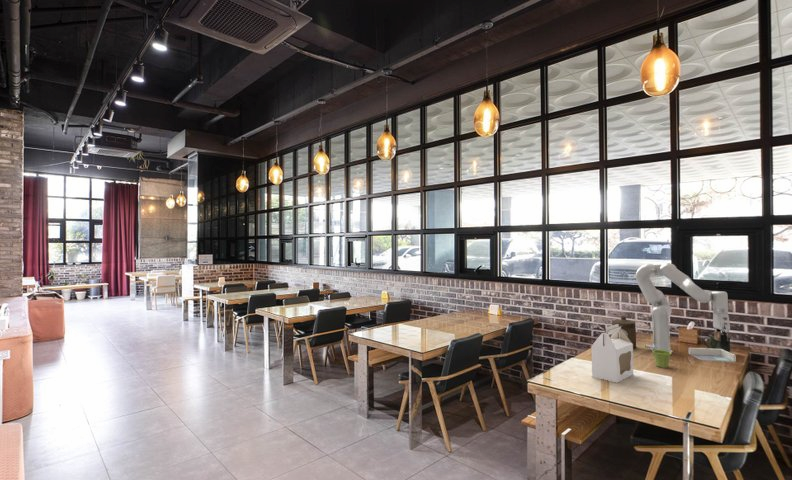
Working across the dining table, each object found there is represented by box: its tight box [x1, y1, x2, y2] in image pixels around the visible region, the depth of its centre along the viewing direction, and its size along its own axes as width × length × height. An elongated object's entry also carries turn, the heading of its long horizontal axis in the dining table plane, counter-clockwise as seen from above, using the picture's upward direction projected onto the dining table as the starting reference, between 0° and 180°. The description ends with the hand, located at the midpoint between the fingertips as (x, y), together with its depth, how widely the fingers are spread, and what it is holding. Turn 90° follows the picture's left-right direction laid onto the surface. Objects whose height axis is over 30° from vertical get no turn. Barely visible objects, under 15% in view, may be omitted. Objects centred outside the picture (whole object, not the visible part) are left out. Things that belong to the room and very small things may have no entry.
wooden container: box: [611, 315, 637, 350], centre depth 289 cm, size 15×15×22 cm
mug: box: [702, 333, 732, 353], centre depth 270 cm, size 11×15×12 cm
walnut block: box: [713, 330, 729, 341], centre depth 253 cm, size 5×5×5 cm
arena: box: [688, 347, 737, 363], centre depth 256 cm, size 19×15×5 cm
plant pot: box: [652, 350, 672, 369], centre depth 242 cm, size 9×9×9 cm
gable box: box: [591, 324, 634, 384], centre depth 226 cm, size 22×13×28 cm, turn 129°
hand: (721, 339), depth 253 cm, fingers closed on walnut block, 5 cm apart
